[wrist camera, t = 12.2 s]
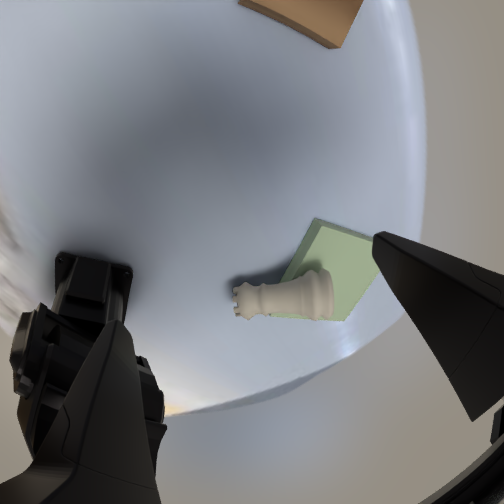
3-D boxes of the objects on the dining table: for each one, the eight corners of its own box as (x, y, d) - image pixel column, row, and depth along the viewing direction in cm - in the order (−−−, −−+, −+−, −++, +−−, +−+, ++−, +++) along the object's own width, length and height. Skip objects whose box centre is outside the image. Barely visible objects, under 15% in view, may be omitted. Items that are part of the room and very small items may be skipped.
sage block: (336, 309, 33) (344, 321, 31) (263, 302, 28) (269, 316, 27) (382, 239, 28) (393, 249, 27) (310, 214, 24) (322, 225, 22)
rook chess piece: (332, 264, 21) (228, 274, 22) (336, 322, 21) (232, 331, 22) (323, 268, 26) (237, 276, 27) (327, 317, 25) (241, 324, 26)
